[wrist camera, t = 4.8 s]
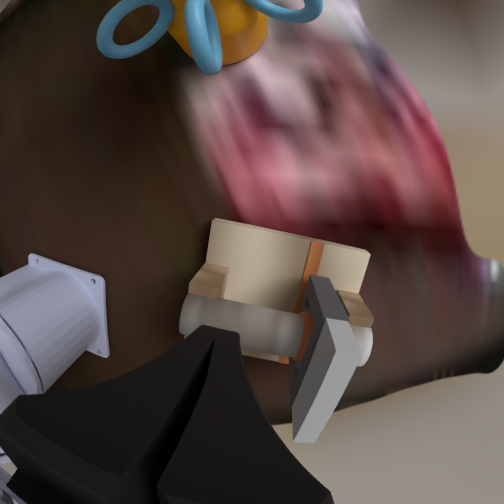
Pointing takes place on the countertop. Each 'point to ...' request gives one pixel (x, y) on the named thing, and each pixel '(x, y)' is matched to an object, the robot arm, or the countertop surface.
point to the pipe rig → (272, 289)
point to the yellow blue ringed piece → (204, 28)
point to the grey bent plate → (321, 361)
